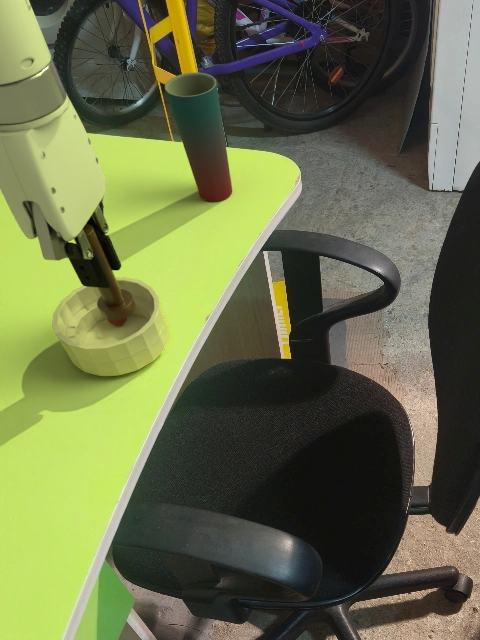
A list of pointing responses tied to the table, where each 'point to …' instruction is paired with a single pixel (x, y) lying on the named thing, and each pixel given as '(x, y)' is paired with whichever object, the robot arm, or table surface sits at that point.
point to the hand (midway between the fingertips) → (102, 275)
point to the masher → (112, 299)
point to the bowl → (111, 330)
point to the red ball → (117, 322)
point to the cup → (201, 132)
